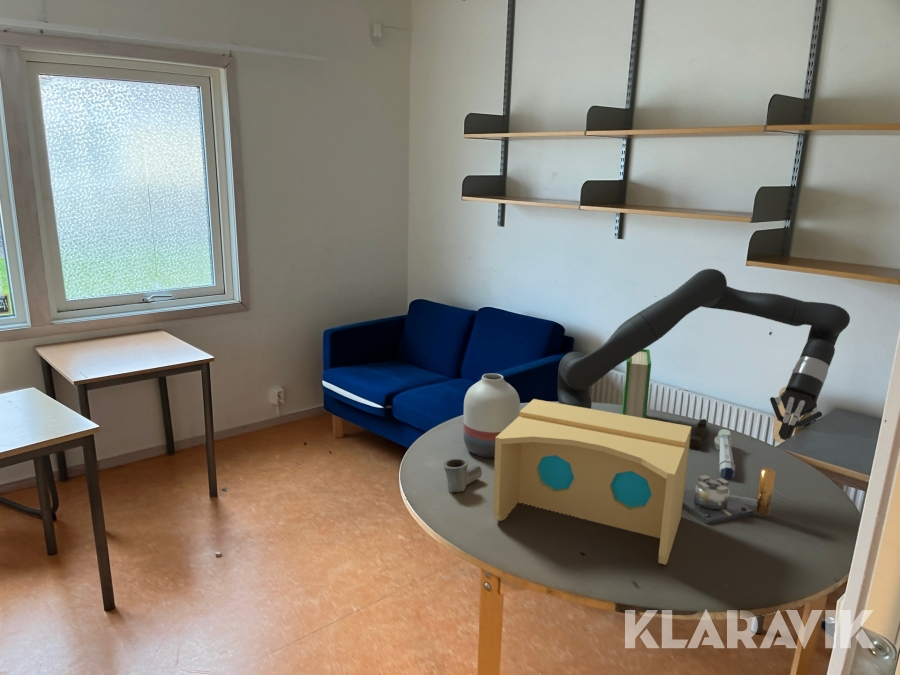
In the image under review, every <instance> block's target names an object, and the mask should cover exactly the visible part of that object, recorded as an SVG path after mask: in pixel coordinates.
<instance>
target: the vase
mask: <svg viewBox="0 0 900 675" xmlns="http://www.w3.org/2000/svg"><path fill="white" fill-rule="evenodd" d="M519 411H521V401H520V396H519V393H518V392H517V390H516V389H515V388H514V387H513V386H512V385H511V384H510V383H508V382H507V381H506V380H505V379H504V376H503V375H502V374H499V373H490V372H489V373H484V374H483V375H482V376H481V379H480V380H479V381H477V382H476V383H474V384H473V385H471V386H470V387H469V388H468V389H467V391H466V393H465V396H464V400H463V425H462V426H463V428H462V429H463V435H462V436H463V441H464V446H465V447H466V449H467V450H468V451H469V452H471V453H472V454H474V455H476V456H479V457H482V458H489V459H490V458H491V459H492V458H493V459H495V437H497V436H498V435H499V434H500V433H501V432H502V431H503V430H504V429H505V428H506V427H508V426H509V425H510V424H511V423H512V422H513V421H514V420H515V419H516V418H518V417H519Z"/></svg>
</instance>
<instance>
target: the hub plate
mask: <svg viewBox="0 0 900 675" xmlns="http://www.w3.org/2000/svg"><path fill="white" fill-rule="evenodd" d="M695 489H696V488H693V489H688V490H684V497H683V505H682V508H684V509H686V510H687V511H688V512H689V513H691V514H692V515H693V516H695V517H696V518H698V519H699V520H700V521H701V522H703V523H704V524H705V525H710V524H714V523H715V524H716V523H720V522H725V521H730V520H736V519H740V518H745V517H751V516H753V514H754V510H752V509H751V508H749V507H748V506H747V505H746V504H742V503H737V502H732V501H728V505H727V507H725V508H721V509H713V508H708V507H705V506H702V505H700V504H699V503H697V502H696V501H695V499H694V497H695Z"/></svg>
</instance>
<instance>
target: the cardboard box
mask: <svg viewBox="0 0 900 675" xmlns="http://www.w3.org/2000/svg"><path fill="white" fill-rule="evenodd" d="M691 434H692V426H690V425H685V424H679V423H673V422H669V421H662V420H661V421H660V420H657V419H650V418H647V417H646V418H640V417H634V416H628V415H623V414H622V413H617V412H616V413H615V412H611V411H605V410H600V409H594V408H591V409H588V408H582V407H577V406H571V405H565V404H559V402H553V401H546V400H542V399H537V398H533V399H532V400H531V401H530V402H528V403H527V404H526V405H525V406H524V407H522V409H520V411H519V417H518V418H516V419H515V420H514V421H513V422H512V423H511V424H510V425H509V426H508V427H506V428H505V429H504V430H503V431H502V432H501V433H500V434H499V435H498V436H497V437H495V458H494V466H493V467H494V474H493V500H492V501H493V502H492V503H493V506H492V513H493V516H494V520H497V521H499V522H501V521H503V520H506V518H507V517H508V516H509V515H510V514H509V513H511V512H512V511H513V510H514V509H515V507H516V506H517V505H518V504H521V503H524V504H523V505H525V504H528V505H527V506H529V505H532V506H531V507H533V506H536V507H535V508H537V507H539V508H538V509H541V508H543V509H542V510H545V509H548V510H547V511H549V510H551V511H550V512H553V511H555V512H554V513H557V512H559V513H558V514H561V513H563V514H562V515H565V514H567V515H566V516H569V515H571V516H570V517H573V516H574V518H577V517H578V519H581V520H585V519H586V520H585V521H590V522H594V523H597V524H602V525H606V526H610V527H612V528H613V527H614V528H618V529H622V530H625V531H629V532H634V533H638V534H642V535H645V536H650V537H653V538H657V539H659V548H658V564H662V565H667V563H668V561H669V557H670V553H671V551H672V548H673V544H674V541H675V539H676V535H677V533H678V528H679V524H680V521H681V519H682V512H683V506H682V505H683V497H684V491H685V487H686V486H685V485H686V478H687V477H686V476H687V471H688V470H687V469H688V460H689V451H690V449H689V444H690V438H691V436H692V435H691ZM518 502H519V503H518ZM517 503H518V504H517ZM516 504H517V505H516ZM515 505H516V506H515ZM513 508H514V509H513ZM512 509H513V510H512ZM511 510H512V511H511ZM508 514H509V515H508Z"/></svg>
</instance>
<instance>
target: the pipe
mask: <svg viewBox="0 0 900 675" xmlns="http://www.w3.org/2000/svg"><path fill="white" fill-rule="evenodd" d="M468 466H469V462H468V460H466V459H464V458H451V459H446V461H444V462H443V468H444V471H445V474H446V479H447V481H446V482H447V489H448V491H449V492H450V493H452V492H457V493H461V492H463V491H465V489H466V488H467V486H468V485H470V484H471V483H473V482H475V481H477V480H478V479H480V478H481V477H482V474H483V471H482V468H481V466H479V465H473V466H472V467H470V468H468ZM460 491H461V492H460Z"/></svg>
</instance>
